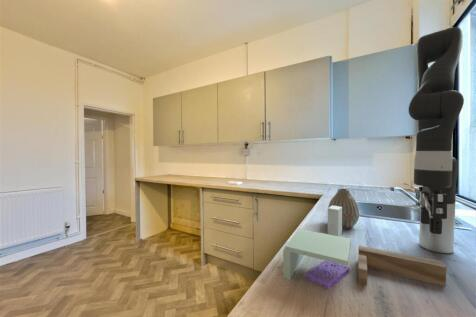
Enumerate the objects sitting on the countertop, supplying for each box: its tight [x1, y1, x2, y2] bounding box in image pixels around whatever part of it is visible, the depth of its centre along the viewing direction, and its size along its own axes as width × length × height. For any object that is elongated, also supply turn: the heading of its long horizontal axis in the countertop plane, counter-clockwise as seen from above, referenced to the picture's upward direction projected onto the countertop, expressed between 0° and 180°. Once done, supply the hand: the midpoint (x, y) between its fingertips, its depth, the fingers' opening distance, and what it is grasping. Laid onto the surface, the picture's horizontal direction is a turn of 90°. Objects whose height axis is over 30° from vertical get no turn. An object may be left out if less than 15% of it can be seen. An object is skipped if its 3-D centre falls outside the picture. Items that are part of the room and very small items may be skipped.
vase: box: [327, 188, 360, 230], centre depth 99 cm, size 13×13×18 cm
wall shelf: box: [282, 228, 352, 280], centre depth 62 cm, size 15×16×9 cm
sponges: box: [304, 260, 351, 290], centre depth 61 cm, size 7×13×2 cm, turn 130°
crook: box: [357, 245, 447, 287], centre depth 58 cm, size 14×20×5 cm
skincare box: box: [327, 205, 343, 237], centre depth 89 cm, size 6×4×12 cm
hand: (430, 228), depth 58 cm, fingers open, 8 cm apart
